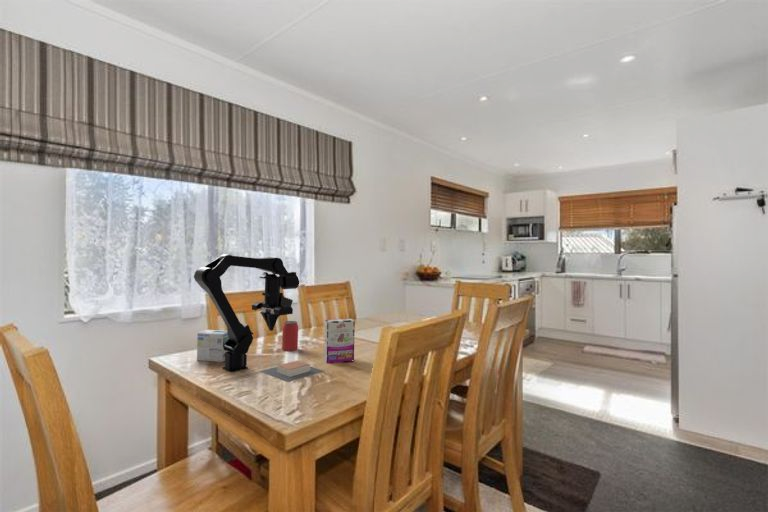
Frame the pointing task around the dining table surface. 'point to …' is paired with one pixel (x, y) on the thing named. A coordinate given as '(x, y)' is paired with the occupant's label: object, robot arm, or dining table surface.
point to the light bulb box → (211, 345)
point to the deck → (293, 368)
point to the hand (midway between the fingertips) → (271, 330)
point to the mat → (285, 378)
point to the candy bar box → (339, 340)
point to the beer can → (290, 336)
